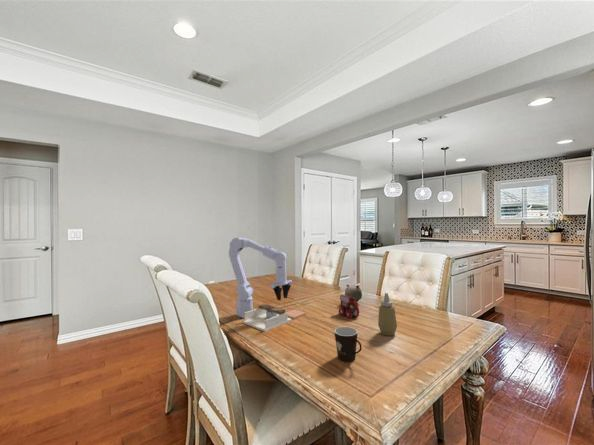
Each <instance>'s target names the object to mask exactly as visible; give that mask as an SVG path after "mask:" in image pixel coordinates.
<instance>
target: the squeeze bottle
mask: <svg viewBox="0 0 594 445" xmlns="http://www.w3.org/2000/svg"><path fill="white" fill-rule="evenodd" d="M380 302H381V303H380V305H379V308H378V310H379V311H378V320H377V322H378V323H377V324H378V328H379V331H380V333H381V335H384V336H388V337H389V336H390V337H391V336H394V335H395V334H396V330H397V328H398V322H397V315H396V309H395V306H393V301H392V300H390V297H389V293H388V292H385V293H384V296H383V299H382V300H381V301H380Z"/></svg>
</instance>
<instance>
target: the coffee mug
mask: <svg viewBox="0 0 594 445" xmlns="http://www.w3.org/2000/svg"><path fill="white" fill-rule="evenodd" d="M333 332H334V333H333V334H334V340H335V346H336V347H335V348H336V351H337V352H336V354H337V359H338V360H339V361H341V362H342V363H351V362H352V363H353V362H354V361H355V360H356V355H357V354H359V353H360V352H361V351H362V348H363V347H362V343H361V342H360V341H359V340H358V330H357V329H356V328H354V327H351V326H340V327H339V326H338V327H336V328H335V329H334V331H333ZM357 343H358V345H359V349H358V351H357Z"/></svg>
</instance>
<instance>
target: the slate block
mask: <svg viewBox="0 0 594 445" xmlns="http://www.w3.org/2000/svg"><path fill="white" fill-rule="evenodd" d="M275 316H277V313H274V312H271V311H267V310H266V320H267V319H270V318H272V317H275Z"/></svg>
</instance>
